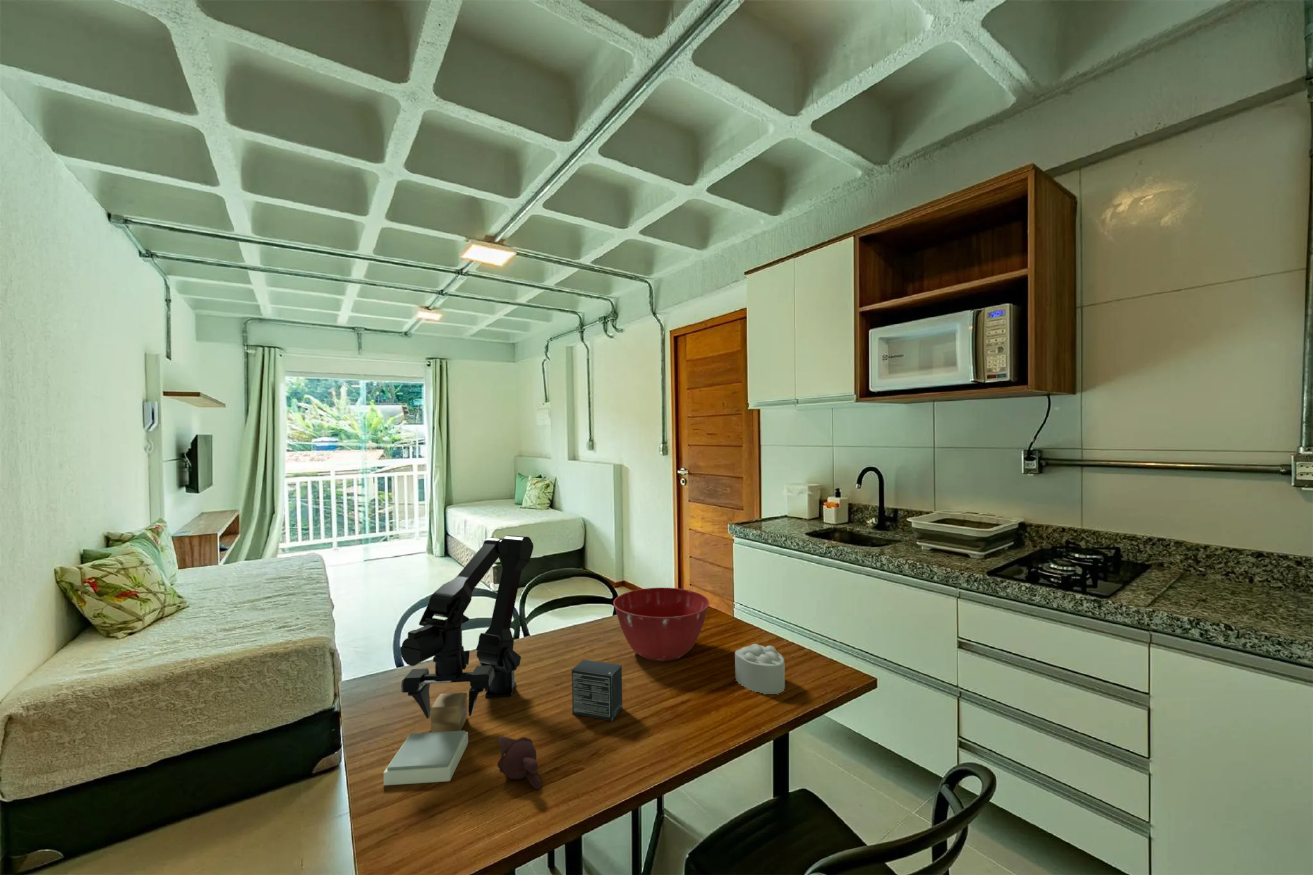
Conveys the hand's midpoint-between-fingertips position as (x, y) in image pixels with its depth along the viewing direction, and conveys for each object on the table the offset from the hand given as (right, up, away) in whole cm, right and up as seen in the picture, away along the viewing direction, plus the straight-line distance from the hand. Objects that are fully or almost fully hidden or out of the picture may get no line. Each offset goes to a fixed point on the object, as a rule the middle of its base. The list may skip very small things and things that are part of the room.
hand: (449, 716), depth 115 cm
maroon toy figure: (+20, -2, -17) cm, 26 cm away
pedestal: (+1, -2, -13) cm, 13 cm away
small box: (+33, -2, +5) cm, 33 cm away
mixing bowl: (+48, -2, +38) cm, 61 cm away
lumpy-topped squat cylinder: (+74, -1, +18) cm, 76 cm away
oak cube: (0, -2, 0) cm, 2 cm away
